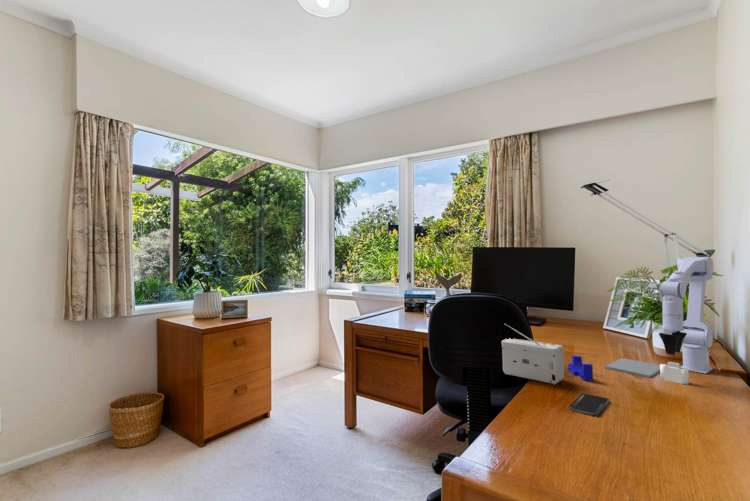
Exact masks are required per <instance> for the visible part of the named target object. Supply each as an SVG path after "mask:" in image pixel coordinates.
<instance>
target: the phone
mask: <svg viewBox="0 0 750 501" xmlns="http://www.w3.org/2000/svg"><path fill="white" fill-rule="evenodd" d="M609 402H610V399H609V398H607V397H603V396H599V395H594V394H589V393H583V392H582V393H581V394H580V395H579V396H578V397H577V398H576V399H575V400H574V401H572V403H570V405H569V406H568V410H569V409H570V410H569V411H571V410H573V411H572V412H575V411H577V412H576V413H578V412H581V413H580V414H582V413H584V415H586V414H588V415H587V416H590V415H592V416H591V417H594V416H598V417H600V416H601V414H602V413H603V412H604V410H605V409H606V408H607V406H608V405H609V404H610V403H611V402H610V403H609ZM599 415H600V416H599Z"/></svg>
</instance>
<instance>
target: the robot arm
mask: <svg viewBox="0 0 750 501" xmlns="http://www.w3.org/2000/svg"><path fill="white" fill-rule="evenodd" d="M676 267H677V270H674V271H673V272H672V273H671V274H670V276H669V277H668V278H667V279H666V280H665V281H662V282H660V283H659V285H658V287H659V288H658V293H659V296H660V302H661V306H662V307H661V308H662V314H661V315H662V325H658V328H659V329H663V332H659V333H658V335H659V337H660V339H661V340H662V344H663V346H664V350H665V353H666V355H672V356H675V355H676V353H681V351H682V365H680V367H683V368H687V369H688V370H689V372H695V373H699V374H700V373H701V374H708V373H709V372H711V371H712V370H713V369H714V368H713V367H712V366H710V356H709V355H710V353H709V350H708V349H710V348H711V347H712V346H713V340H714V337H713V329H712V328H711V327H710V326H709V325H708V324H706V323H705V322H704V311H705V310H704V309H705V295H706V286H707V282H708V281H709V280H712V279H713V275H714V262H713V259H712V257H711V256H710V255H709V256H680V257H679V258H678V259H677V261H676ZM688 285H689V288H688V289H689V290H688V301H687V313H686V320H684V302H683V301H684V298H685V297H686V293H687V287H688Z"/></svg>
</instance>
